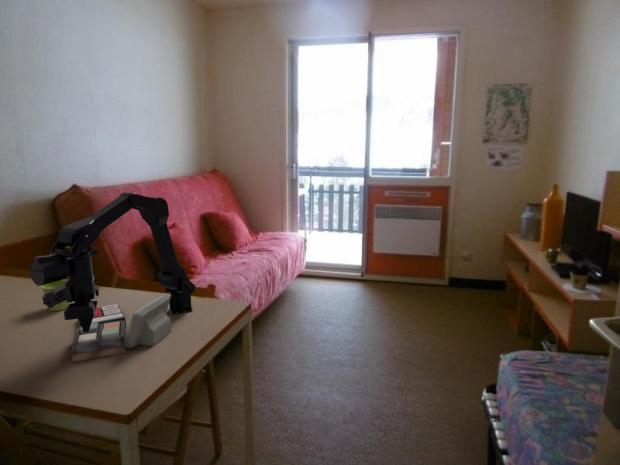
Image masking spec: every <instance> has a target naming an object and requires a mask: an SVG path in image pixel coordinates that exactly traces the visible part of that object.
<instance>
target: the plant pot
mask: <svg viewBox="0 0 620 465" xmlns="http://www.w3.org/2000/svg"><path fill="white" fill-rule="evenodd" d="M66 282H67V279H64V280H60V281H57V282H53V283H49V284H46V285H42V286H39V287H40V288H41V289H42V292H43V293H44V294H45V293H46V292H48V291H50V290H53V289H55V288H57V287H60V286H62V285H65V283H66ZM70 303H71V302H70ZM70 303H67V300H66V301H64V302H61V303H59V304H57V305H55V306H54V307H52V308H48V310H49V311H52V312H57V311H59V312H60V311H64V310H65V308H66V307H67V306H68V305H69V304H70Z"/></svg>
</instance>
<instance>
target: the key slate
mask: <svg viewBox="0 0 620 465" xmlns="http://www.w3.org/2000/svg"><path fill="white" fill-rule="evenodd" d="M80 327H81V326H80ZM98 331H99V327H98V322H97V323H91V326H90V329H89V332H84V331H83V329H82V327H81V329H80V333H81V334H86V333H92V332H98Z"/></svg>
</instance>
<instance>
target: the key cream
mask: <svg viewBox="0 0 620 465" xmlns="http://www.w3.org/2000/svg"><path fill="white" fill-rule="evenodd" d="M93 340H97V333H91V334H84V335H80V336H79V339H78V343H81V342H87V341H93Z"/></svg>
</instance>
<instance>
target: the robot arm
mask: <svg viewBox="0 0 620 465" xmlns="http://www.w3.org/2000/svg"><path fill="white" fill-rule="evenodd" d="M132 209H133V210H136V211H138V212H139V214H140V217H141V218H142V220H143V221H144V222H145V223H146V224H147V225H148V226H149V227H150V231H151V234H152V238H153V241H154V244H155V247H156V249H157V253H158V258H159V260H160V264H161V270H160V272H159V273H157V277H158V280H159V285H161V286H162V287H163V288H164V290H165V292H166V293H170V294H169V295H168V296H169V297H170V301H169V305H168V308H169V310H170V311H171V313H172V315H173V314H179V313H180V314H181V313H186V312H193V307H192V294H193V293H194V292H195V291H196V285H195V283H193V282H192V281H191V280H190V279H189V276H188V273H187V272H186V270H185V269H184V268H183V266H181V264H179V262H178V258H177V255H176V251H175V247H174V244H173V241H172V237H171V234H170V230H169V226H168V220H169V217H170V213H169V212H170V210H169V205H168V202H167V200H166V199H164V198H163V197H158V196H145V195H141V194H138V193H136V192H126V191H125V192H122V193H120V195H119V196H118V197H116V198H115V199H114V200H112V201H110V202H109V203H108V204H106V205H104V206H103V207H101V208H100V209H98V210H97V211H96V212H94V213H93V214H92V215H90V216H88V217H86V218H84V219H80V220H77V221H73V222H71V223H69V224H67V225H65V226H62V228H60V230H59V231H58V236H57V238H56V241H55V242H54V244H53V246H52V247H51V249H50V251H49V254H47V255H38V256H34V257H33V262H32V263H31V265H30V269H29V275H30V279H31V280H32V283H34V284H35V286H38V287H40V286H42V285H46V284H49V283H53V282H57V281H60V280H67V282H66V283H65V285H62V286H60V287H57V288H55V289H53V290H50V291H48V292H46V293H44V294H43V295H42V296H41V299H42V301H43V302H42V305H44V306H46V307H47V309H49V308H52V307H54V306H55V305H57V304H59V303H61V302H64V301H66V300H67V303H70V304H69V305H68V306H67V307H66V308H65V309H64V310H63V318H64V320H65V321H72V320H78V322H79V325H80V327H82V329H83V331H84V332H89V329H90V326H91V323H92V320H93V317H94V314H95V311H96V308H97V306H98V302H99V301H97V300H94V299H95V298H96V297H99V296H100V287H99V286H98V285H97V284H96V283H95V282H94V280H95V274H94V273H93V271H94V270H93V264H92V263H93V262H92V257H93V256H96V255H99V254H100V252H99V251H98V250H96V249H94V248H93V244H94V243H95V242H96V241H97V240H98V239H99V237H100V235H101V233H102V232H103V231H104V230H105V229H106V228H108V227H109V226H111V225H112V224H113V223H114V222H117V220H119V219H120V218H122V217H123V216H124V215H125V214H127V213H128V212H130V211H131V210H132Z"/></svg>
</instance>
